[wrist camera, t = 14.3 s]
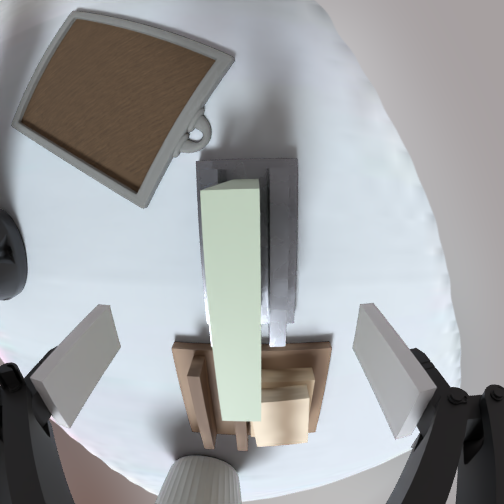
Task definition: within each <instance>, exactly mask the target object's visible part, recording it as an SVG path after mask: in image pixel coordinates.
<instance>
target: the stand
mask: <svg viewBox="0 0 504 504" xmlns="http://www.w3.org/2000/svg"><path fill="white" fill-rule="evenodd" d="M196 177H197V201H198V220H199V236H200V250H201V264H202V276H203V287H204V298H205V308H206V318H207V323H209V329H210V320H209V310H208V299H207V288H206V276H205V264H204V250H203V234H202V217H201V197H200V190H203V189H206V188H209V187H212V186H215V185H218V184H221V183H224V182H227V181H230V180H233V179H259V189H260V260H261V324H268V328H269V346H270V347H284V346H286V325H287V323H294V311H295V290H296V263H297V214H298V167H297V159H288V158H263V159H226V160H206V161H196ZM210 338H211V330H210ZM211 346H212V339H211Z"/></svg>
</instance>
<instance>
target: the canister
mask: <svg viewBox="0 0 504 504" xmlns="http://www.w3.org/2000/svg"><path fill="white" fill-rule="evenodd" d="M155 504H242V501H241V492H240V483H239V477H238V474H237V472H236V470H235V469H234V468H233V467H232V466H231V465H230V464H228V463H226V462H224V461H222V460H219V459H216V458H212V457H207V456H200V455H199V456H197V455H194V456H193V455H191V456H186V457H182V458H179V459H178V460H176V461H175V462H174V464H173V465H172V466H171V468H170V470H169V472H168V475H167V477H166V479H165V481H164V483H163V486H162V488H161V490H160V493H159V495H158V498H157V500H156V502H155Z"/></svg>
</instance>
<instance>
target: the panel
mask: <svg viewBox="0 0 504 504" xmlns="http://www.w3.org/2000/svg"><path fill="white" fill-rule="evenodd" d="M200 197H201V217H202V234H203V250H204V264H205V276H206V288H207V299H208V310H209V320H210V330H211V339H212V348H213V356H214V365H215V373H216V380H217V388H218V395H219V402H220V409H221V416H222V421H261V260H260V189H259V179H233V180H230V181H227V182H224V183H221V184H218V185H215V186H212V187H209V188H206V189H203V190H200Z"/></svg>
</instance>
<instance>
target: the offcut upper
mask: <svg viewBox="0 0 504 504" xmlns="http://www.w3.org/2000/svg"><path fill="white" fill-rule="evenodd" d="M308 422H309V394H308V389H307V384H304V385H295V386H286V387H275V388H262V389H261V421H252V423H253V428H254V433H255V438H256V444H257V447H264V446H279V445H290V444H299V443H307V441H308Z"/></svg>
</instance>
